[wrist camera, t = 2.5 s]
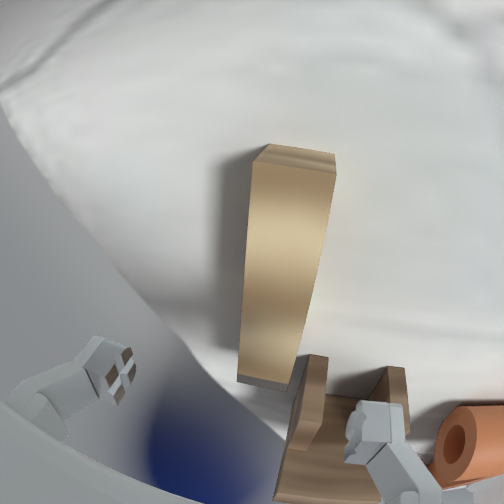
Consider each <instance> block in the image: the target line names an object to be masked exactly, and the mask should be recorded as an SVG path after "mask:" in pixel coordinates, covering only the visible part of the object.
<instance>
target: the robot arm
mask: <svg viewBox="0 0 504 504" xmlns="http://www.w3.org/2000/svg"><path fill="white" fill-rule="evenodd" d="M132 355H133V353H132V350H131V348H130V347H127V346H124V345H121V344H119V343H116V342H113V341H111V340H108V339H106V338H103V337H101V336H98V335H95V336H93V337H92V338H91V339H90V341H89V342H88V343H87V344H86V345H85V346H84V348H83V349H82V350H81V351H80V353H79V354H78V355H77V356H76V358H75V359H74V360H73V361H72V363H71V362H66V363H64V364H61V365H59V366H57V367H54V368H52V369H49V370H47V371H44V372H42V373H39V374H37V375H35V376H32V377H30V378H27V379H25V380H22V381H21V382H20V383H19V385H18V386H17V387H16V389H15V390H14V391H13V392H12V393H11V395H10V396H9V397H8V398H7V400H6V401H5V402H2V401H1V400H0V504H203V503H199V502H196V501H192V500H189V499H186V498H183V497H180V496H177V495H174V494H171V493H168V492H166V491H163V490H160V489H158V488H155V487H152V486H149V485H147V484H145V483H142V482H140V481H137V480H135V479H133V478H130V477H128V476H126V475H124V474H121V473H119V472H117V471H115V470H113V469H111V468H109V467H106V466H104V465H102V464H100V463H98V462H96V461H94V460H92V459H91V458H89V457H87V456H85V455H83V454H81V453H79V452H78V451H76V450H74V449H72V448H71V447H69V446H67V445H65V444H64V443H63V442H64V441H65V439H66V438H67V436H68V434H69V429H68V428H67V426H66V425H65V424H64V422H63V420H65V419H67V418H68V417H70V416H72V415H73V414H75V413H77V412H78V411H80V410H82V409H84V408H85V407H87V406H89V405H90V404H92V403H94V402H95V401H97V400H99V399H102V400H104V401H107V402H109V403H111V404H114V405H116V406H117V405H118V404H119V402H120V401H121V399H122V397H123V396H124V394H125V390H124V387H126V386H128V385H130V384H131V382H132V381H133V379H134V376H135V373H136V365H135V362H134V361H133V359H132V358H131V356H132ZM346 438H347V439H348V441H349V442H348V443H347V445H346V446H345V450H344V463H350V464H360V465H366V468H367V470H368V472H369V474H370V475H371V477H372V479H373V481H374V483H375V485H376V487H377V489H378V491H379V493H380V495H381V497H382V499H383V501H384V503H385V504H442V488H441V487H440V485H439V484H438V483H437V481H436V480H435V478H434V477H433V476H432V474H431V473H430V472H429V470H428V469H427V468H426V466H425V465H424V463H423V462H422V461H421V459H420V458H419V457H418V455H417V454H416V452H415V451H414V450H413V448H412V447H411V446H410V444H406V443H405V429H404V417H403V407H402V405H401V404H396V403H387V402H375V401H364V400H360V401H359V402H358V403H357V405H356V411H354V412H352V413H351V415H350V417H349V419H348V422H347V427H346Z"/></svg>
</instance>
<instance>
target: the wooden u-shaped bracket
mask: <svg viewBox="0 0 504 504" xmlns="http://www.w3.org/2000/svg"><path fill="white" fill-rule="evenodd" d="M327 370H328V357H322V356H316V355H309V358H308V362H307V365H306V368H305V371H304V374H303V377H302V380H301V383H300V386H299V389H298V392H297V395H296V398H295V401H294V404H293V406H292V412H291V417H290V422H289V427H288V432H287V437H286V442H285V447H284V452H283V457H282V461H281V466H280V470H279V474H278V479H277V483H276V487H275V492H274V496H273V501H277V502H283V503H290V504H377V503H379V502H380V501H381V495H380V493H379V491H378V489H377V487H376V485H375V483H374V481H373V479H372V477H371V475H370V474H369V472H368V470H367V468H366V465H360V464H350V463H344V450H345V446H346V445H347V443H348V442H349V441H348V439H347V438H346V427H347V422H348V419H349V417H350V415H351V413H352V412H354V411H356V405H357V403H358V402H359V401H360V400H364V401H375V402H387V403H396V404H401V405H402V407H403V417H404V429H405V436H406V435H407V434H408V433H409V432H410V417H409V405H408V395H407V385H406V377H405V369H404V368H400V367H391V366H388V367H387V369H386V370H385V372H384V374H383V375H382V377H381V379H380V381H379V382H378V384H377V385H376V387H375V389H374V390H373V392H372V394H371V395H370V397H369V398H368V400H365V399H357V398H349V397H341V396H334V395H327V394H325V392H326V381H327Z"/></svg>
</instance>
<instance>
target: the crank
mask: <svg viewBox="0 0 504 504" xmlns="http://www.w3.org/2000/svg"><path fill="white" fill-rule="evenodd" d="M426 468H427V469H428V470H429V472H430V473H431V474H432V476H433V477H434V478H435V480H436V481H437V483H438V484H439V485H440V487H441V488H442V490H445V489H449V488H454V487H458V486H463V485H467V484H471V483H474V482H478V481H482V480H485V479H489V478H492V477H495V476H498V475H501V474H504V405H498V406H458V407H456V408H455V409H454V410H453V411H452V412H451V413H450V415H449V416H448V417H447V418H446V419H445V420H444V421H443V423H442V425H441V427H440V430H439V433H438V436H437V439H436V444H435V452H434V462H432V463H431V464H430V465H426Z"/></svg>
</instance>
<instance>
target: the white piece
mask: <svg viewBox="0 0 504 504" xmlns="http://www.w3.org/2000/svg"><path fill="white" fill-rule="evenodd" d="M466 488H467V491H469V492H473V503H474V504H504V474H501V475H498V476H495V477H492V478H489V479H485V480H482V481H478V482H474V483H471V484H467V485H466Z"/></svg>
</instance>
